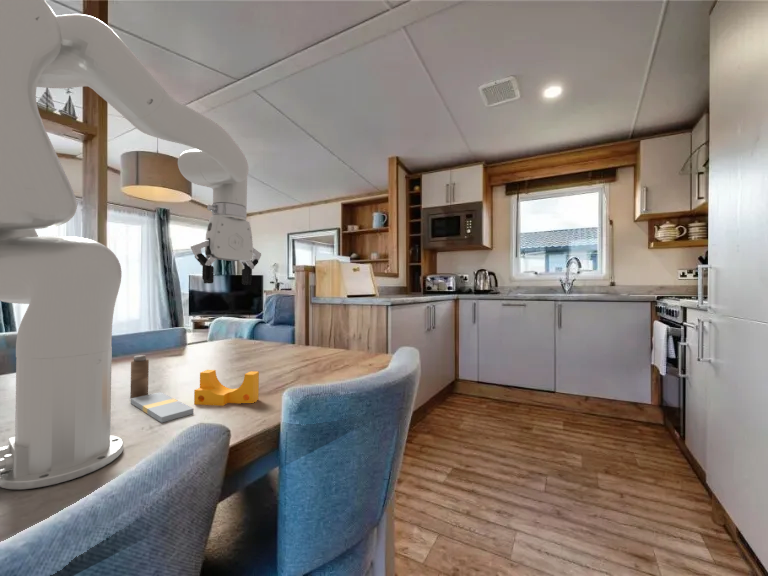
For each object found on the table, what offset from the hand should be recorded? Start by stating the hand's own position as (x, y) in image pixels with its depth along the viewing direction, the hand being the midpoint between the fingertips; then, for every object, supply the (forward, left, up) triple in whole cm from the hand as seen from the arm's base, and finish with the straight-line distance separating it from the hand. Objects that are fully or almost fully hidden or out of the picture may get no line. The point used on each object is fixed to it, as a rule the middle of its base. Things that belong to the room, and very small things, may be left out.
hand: (228, 283), depth 80 cm
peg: (-15, +10, -26) cm, 31 cm away
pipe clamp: (-5, -9, -26) cm, 28 cm away
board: (-15, -2, -26) cm, 30 cm away
